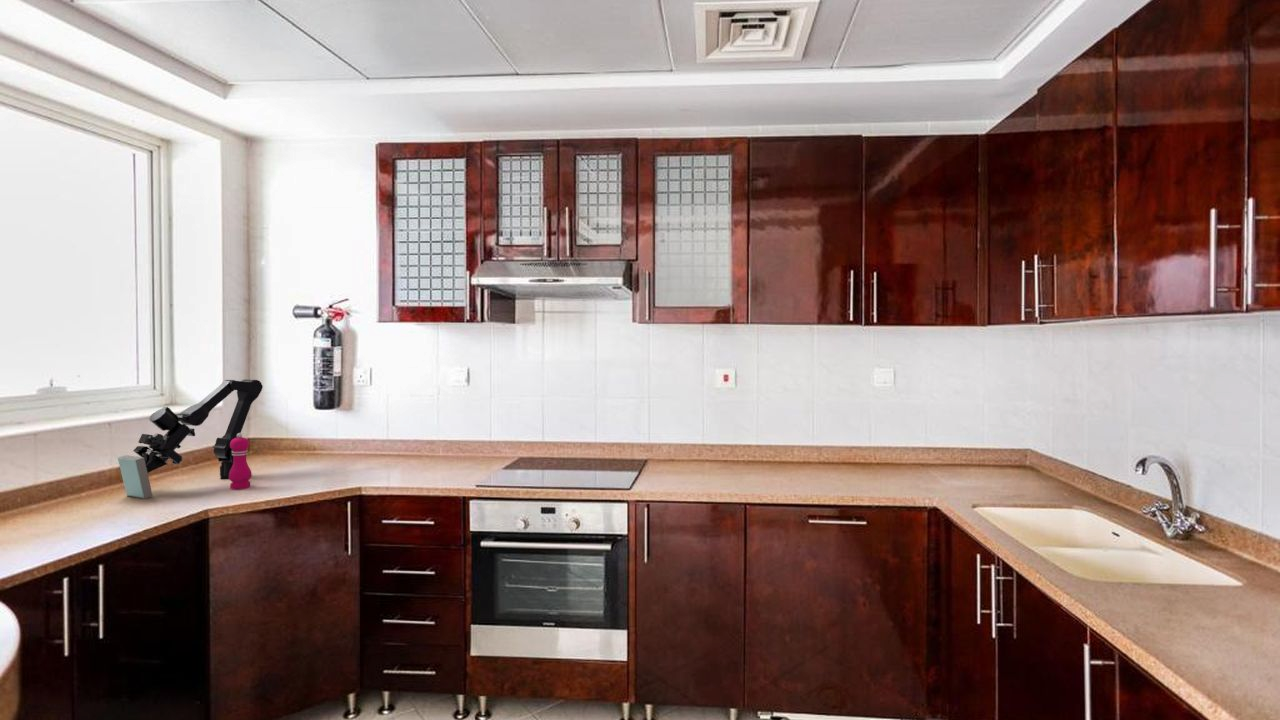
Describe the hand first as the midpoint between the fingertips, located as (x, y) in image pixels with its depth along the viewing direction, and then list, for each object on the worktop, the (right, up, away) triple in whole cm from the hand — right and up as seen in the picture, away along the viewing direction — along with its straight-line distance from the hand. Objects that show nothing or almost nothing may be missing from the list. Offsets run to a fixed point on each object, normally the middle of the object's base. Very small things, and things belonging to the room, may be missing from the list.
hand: (139, 475), depth 227 cm
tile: (0, -7, 0) cm, 7 cm away
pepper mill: (+26, -7, +14) cm, 31 cm away
